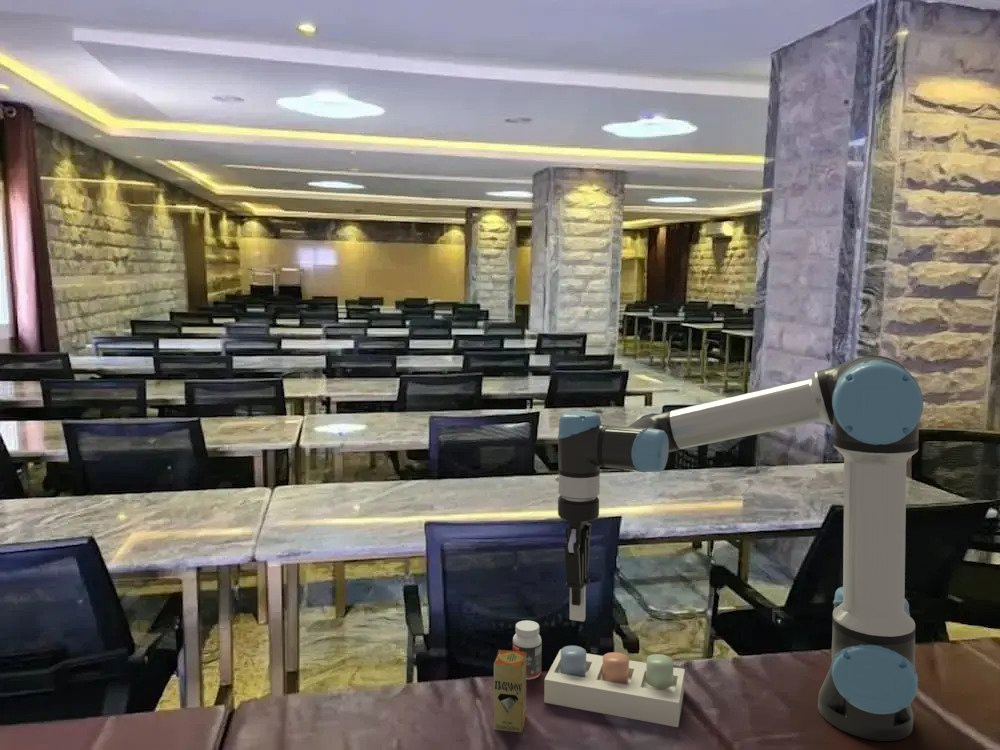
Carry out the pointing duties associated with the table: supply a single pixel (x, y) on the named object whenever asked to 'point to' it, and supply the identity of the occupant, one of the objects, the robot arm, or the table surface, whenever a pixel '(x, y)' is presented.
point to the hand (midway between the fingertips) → (577, 618)
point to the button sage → (659, 671)
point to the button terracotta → (615, 668)
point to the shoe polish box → (510, 691)
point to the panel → (616, 692)
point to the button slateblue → (573, 661)
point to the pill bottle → (529, 646)
